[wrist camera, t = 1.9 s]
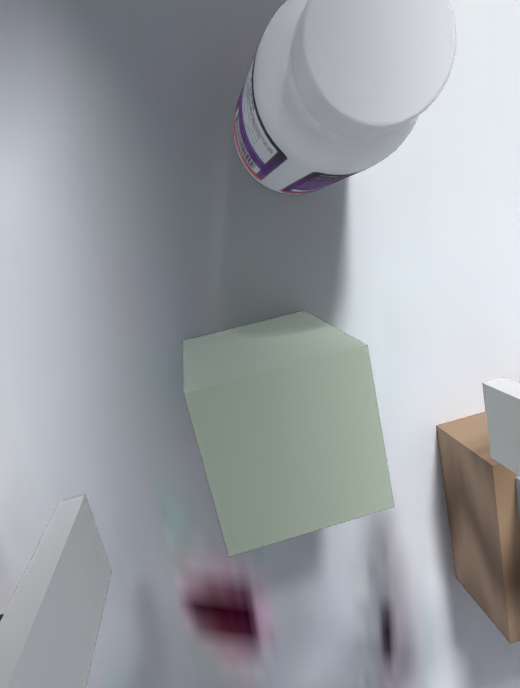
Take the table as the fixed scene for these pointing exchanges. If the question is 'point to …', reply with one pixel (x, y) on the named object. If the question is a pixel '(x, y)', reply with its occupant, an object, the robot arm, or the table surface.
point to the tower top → (518, 491)
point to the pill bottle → (339, 87)
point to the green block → (285, 428)
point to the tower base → (482, 521)
